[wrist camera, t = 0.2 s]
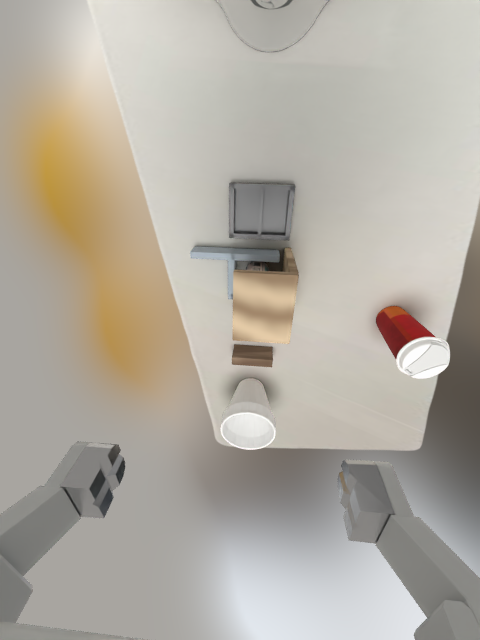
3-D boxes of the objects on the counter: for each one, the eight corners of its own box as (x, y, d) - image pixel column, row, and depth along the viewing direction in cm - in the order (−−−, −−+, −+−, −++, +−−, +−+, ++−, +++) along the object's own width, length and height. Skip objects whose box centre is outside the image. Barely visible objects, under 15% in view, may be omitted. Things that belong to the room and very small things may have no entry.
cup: (218, 379, 71) (209, 422, 59) (260, 363, 67) (259, 405, 55) (242, 410, 75) (237, 455, 64) (282, 396, 72) (285, 441, 60)
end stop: (234, 344, 65) (232, 357, 60) (272, 347, 64) (272, 360, 60) (234, 351, 66) (232, 364, 61) (271, 353, 65) (271, 367, 61)
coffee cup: (384, 340, 61) (416, 388, 48) (362, 317, 59) (389, 361, 46) (419, 318, 57) (464, 362, 44) (398, 292, 55) (439, 332, 42)
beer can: (240, 271, 56) (235, 295, 45) (256, 254, 54) (254, 276, 43) (257, 286, 57) (256, 313, 47) (274, 270, 55) (276, 295, 45)
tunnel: (241, 245, 53) (233, 272, 40) (290, 247, 52) (299, 275, 39) (240, 301, 59) (232, 340, 46) (284, 303, 58) (289, 343, 45)
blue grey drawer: (195, 246, 54) (190, 251, 50) (278, 249, 53) (279, 255, 49) (197, 289, 58) (193, 297, 55) (274, 293, 57) (275, 301, 54)
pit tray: (231, 182, 48) (229, 183, 46) (294, 184, 47) (295, 185, 45) (230, 234, 52) (229, 237, 50) (288, 237, 52) (289, 240, 49)
